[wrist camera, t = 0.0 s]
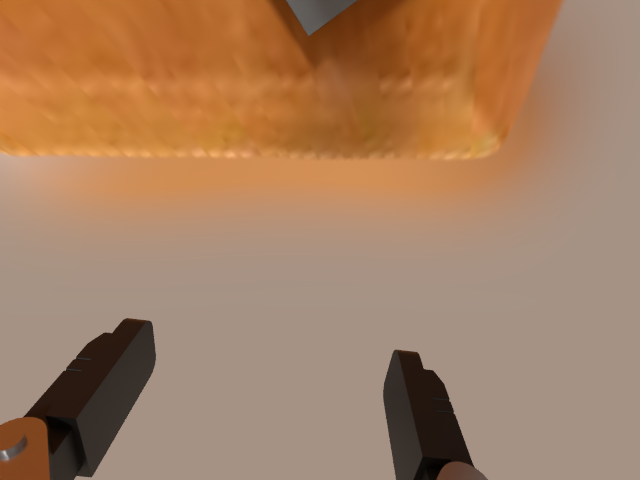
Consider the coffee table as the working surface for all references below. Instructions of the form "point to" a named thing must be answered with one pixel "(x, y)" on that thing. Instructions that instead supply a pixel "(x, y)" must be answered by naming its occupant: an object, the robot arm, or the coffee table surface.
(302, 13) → the socket plate
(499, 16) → the coffee table surface
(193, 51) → the coffee table surface
